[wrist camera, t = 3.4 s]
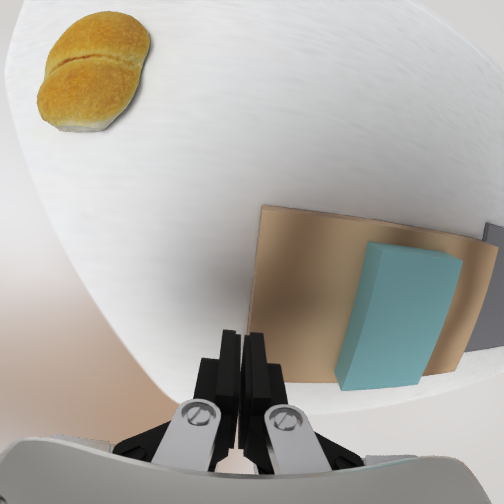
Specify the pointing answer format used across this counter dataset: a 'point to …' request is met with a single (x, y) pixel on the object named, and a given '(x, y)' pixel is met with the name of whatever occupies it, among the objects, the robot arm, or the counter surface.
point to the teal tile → (396, 316)
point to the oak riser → (345, 287)
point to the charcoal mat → (491, 299)
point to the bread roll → (93, 72)
